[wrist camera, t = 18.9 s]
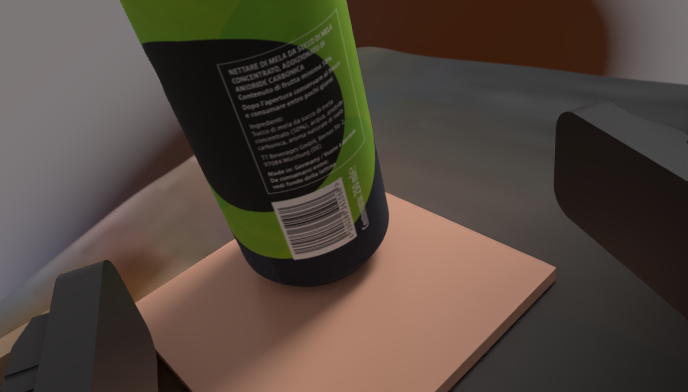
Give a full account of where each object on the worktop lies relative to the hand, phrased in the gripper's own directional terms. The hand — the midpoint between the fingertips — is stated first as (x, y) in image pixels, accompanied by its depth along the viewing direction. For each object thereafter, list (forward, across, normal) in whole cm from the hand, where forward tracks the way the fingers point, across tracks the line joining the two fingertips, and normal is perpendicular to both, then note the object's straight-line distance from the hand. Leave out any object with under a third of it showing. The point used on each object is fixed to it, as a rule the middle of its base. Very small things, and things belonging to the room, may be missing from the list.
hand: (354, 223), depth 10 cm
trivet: (+8, 0, +10) cm, 13 cm away
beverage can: (+11, 0, +9) cm, 14 cm away
